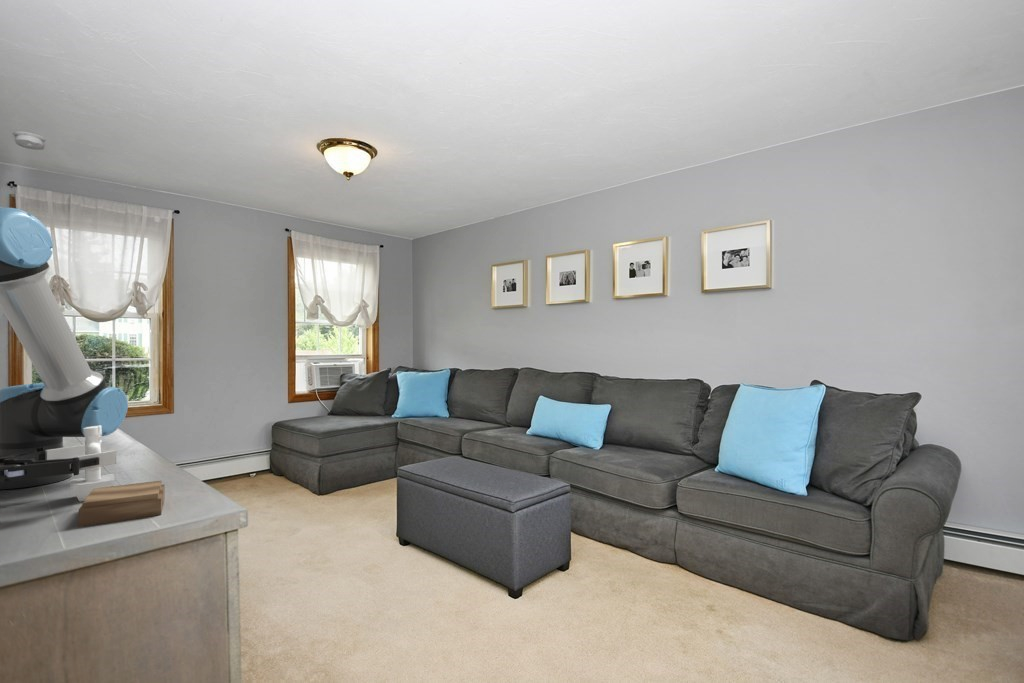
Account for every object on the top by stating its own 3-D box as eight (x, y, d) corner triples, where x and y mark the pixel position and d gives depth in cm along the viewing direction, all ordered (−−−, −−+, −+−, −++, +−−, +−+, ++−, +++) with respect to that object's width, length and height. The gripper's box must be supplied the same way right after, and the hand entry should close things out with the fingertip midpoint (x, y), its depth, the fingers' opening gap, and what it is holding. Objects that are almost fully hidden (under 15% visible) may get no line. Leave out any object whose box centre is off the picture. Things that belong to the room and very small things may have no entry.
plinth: (90, 508, 100) (90, 488, 100) (164, 498, 107) (164, 479, 107) (78, 526, 90) (78, 504, 90) (161, 514, 96) (161, 493, 96)
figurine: (70, 505, 102) (70, 430, 102) (70, 495, 109) (70, 425, 110) (116, 498, 107) (116, 426, 107) (112, 489, 114) (112, 422, 114)
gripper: (-67, 489, 96) (71, 465, 115) (-17, 508, 84) (129, 478, 103) (-67, 449, 96) (71, 432, 115) (-16, 462, 85) (129, 441, 103)
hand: (99, 454), depth 109 cm, fingers open, 13 cm apart
